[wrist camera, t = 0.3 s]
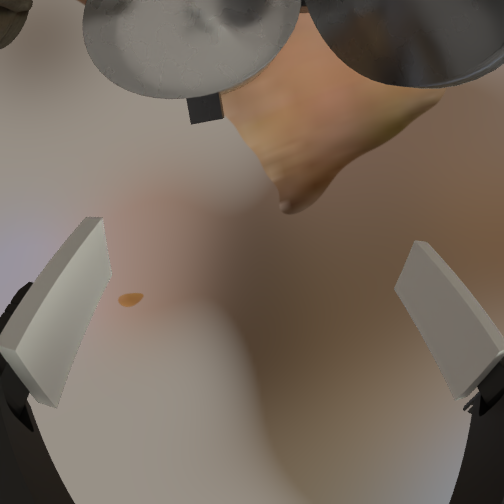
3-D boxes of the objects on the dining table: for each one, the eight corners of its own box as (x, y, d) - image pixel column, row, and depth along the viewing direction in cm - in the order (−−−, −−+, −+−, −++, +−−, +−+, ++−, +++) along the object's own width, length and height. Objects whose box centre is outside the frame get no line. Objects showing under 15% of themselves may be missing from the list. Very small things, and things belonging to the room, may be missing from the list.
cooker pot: (120, -25, 22) (81, -54, 11) (279, -56, 21) (291, -100, 10) (142, 131, 34) (102, 148, 24) (307, 104, 33) (334, 108, 23)
